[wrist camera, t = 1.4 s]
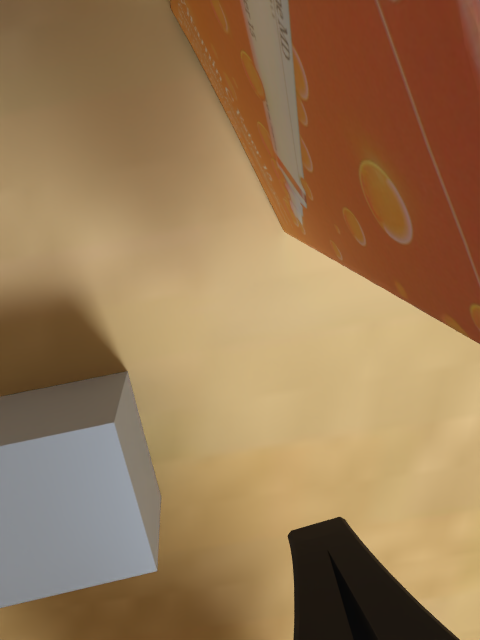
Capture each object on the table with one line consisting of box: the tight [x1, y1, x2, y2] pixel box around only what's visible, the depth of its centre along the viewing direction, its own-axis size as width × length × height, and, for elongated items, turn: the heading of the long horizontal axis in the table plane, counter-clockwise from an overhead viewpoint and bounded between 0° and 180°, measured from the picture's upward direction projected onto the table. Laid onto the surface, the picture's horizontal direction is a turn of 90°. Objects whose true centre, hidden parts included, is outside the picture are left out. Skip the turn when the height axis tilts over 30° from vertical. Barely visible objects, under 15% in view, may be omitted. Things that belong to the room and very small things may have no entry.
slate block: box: [0, 371, 161, 608], centre depth 16 cm, size 6×7×4 cm
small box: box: [170, 0, 480, 344], centre depth 9 cm, size 8×6×13 cm
